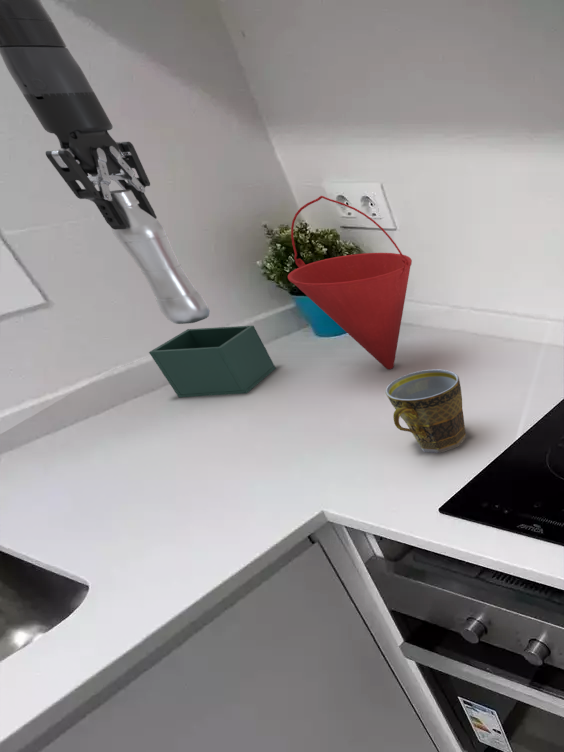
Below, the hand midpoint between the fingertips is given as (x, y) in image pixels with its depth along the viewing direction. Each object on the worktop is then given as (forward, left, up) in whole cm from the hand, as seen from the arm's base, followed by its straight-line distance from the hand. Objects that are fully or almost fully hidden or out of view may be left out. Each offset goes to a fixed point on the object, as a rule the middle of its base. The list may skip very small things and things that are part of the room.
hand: (135, 223), depth 87 cm
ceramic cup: (+46, -29, -28) cm, 61 cm away
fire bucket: (+29, +2, -28) cm, 40 cm away
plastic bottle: (0, 0, -16) cm, 16 cm away
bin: (0, 0, -28) cm, 28 cm away
